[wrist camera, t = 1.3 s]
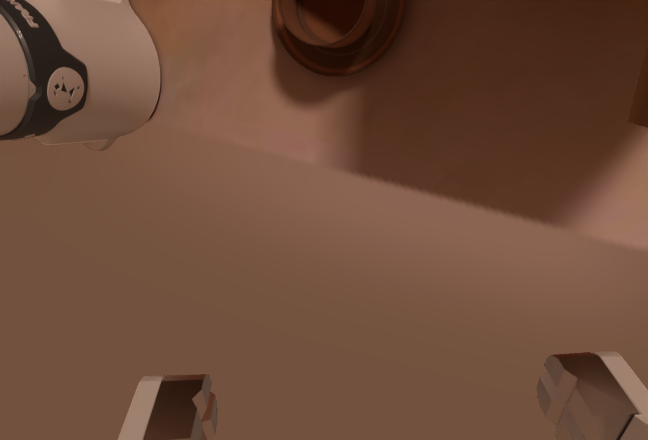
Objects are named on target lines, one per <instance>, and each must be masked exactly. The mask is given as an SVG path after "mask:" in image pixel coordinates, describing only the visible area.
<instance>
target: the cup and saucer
mask: <svg viewBox="0 0 648 440" xmlns="http://www.w3.org/2000/svg"><path fill="white" fill-rule="evenodd" d="M405 7H406V0H272V14H273V20H274V24H275V28H276V31H277V34H278V36H279V38H280V40H281V42H282V44H283V46H284V47H285V49H286V50H287V52H288V53H289V54H290V55H291V56H292V58H294V59H295V60H296V61H297V62H298V63H299V64H300V65H302V66H303V67H305V68H306V69H308V70H310V71H312V72H315V73H318V74H321V75H326V76H345V75H350V74H354V73H357V72H359V71H361V70H363V69H365V68H367V67H369V66H370V65H372V64H373V63H375V62H376V61H377V60H378V59H379V58H380V57H381V56H382V55H383V54H384V53H385V52H386V51H387V50H388V48H389V47H390V46H391V44H392V43H393V41H394V39H395V38H396V36H397V34H398V32H399V29H400V27H401V24H402V21H403V17H404V13H405Z"/></svg>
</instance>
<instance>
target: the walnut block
mask: <svg viewBox="0 0 648 440" xmlns="http://www.w3.org/2000/svg"><path fill="white" fill-rule="evenodd" d="M628 122H631V123H634V124H637V125H641V126H644V127H647V128H648V47H647V51H646V55H645V59H644V62H643V66H642V70H641V74H640V78H639V81H638V85H637V89H636V93H635V97H634V100H633V104H632V108H631V112H630V116H629V119H628Z"/></svg>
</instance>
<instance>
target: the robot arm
mask: <svg viewBox="0 0 648 440" xmlns="http://www.w3.org/2000/svg"><path fill="white" fill-rule="evenodd" d="M159 92H160V66H159V60H158V56H157V52H156V49H155V46H154V44H153V41H152V39H151V37H150V35H149V33H148V31H147V30H146V28H145V26H144V25H143V23H142V22H141V21H140V20H139V18H138V17H137V16H136V14H135V13H134V11H133V10H132V8H131V6H130V4H129V1H128V0H0V140H22V139H27V138H30V137H32V138H33V139H35V140H37V141H39V142H40V143H41V144H42V145H46V146H53V145H64V144H76V143H83V144H84V145H86V146H87V147H89V148H90V149H92V150H95V151H101V150H105V149H107V148H108V147H109V146H110V145H111V144H112V143H113V142H114V141H115V140H116V138H118V137H119V136H122V135H125V134H128V133H131V132H133V131H135V130H137V129H138V128H140V127H141V126H142V125H144V123H145V122H146V121H147V120H148V119H149V118H150V116H151V114H152V113H153V111H154V109H155V106H156V104H157V101H158V97H159ZM544 366H545V367H546V369H547V372H545V373H544V374H543V375H541V376H540V377H539V381H538V384H537V394H538V400H539V403H540V406H541V409H542V411H543V412H544V415H545V417H547V418H548V419H549V420H551V421H552V422H553V423H554V424H556V430H555V437H556V439H557V440H648V390H647V389H646V388H645V386H644V385H643V384H642V382H641V381H640V380H639V379H638V377H637V376H636V375H635V373H634V372H633V371H632V370H631V368H630V367H629V366H628V364H627V363H626V362H625V360H624V359H623V358H622V356H621V355H619V354H618V353H616V352H614V351H609V352H593V353H591V352H583V353H569V354H555V355H550V356H549V357H547V359H546V361H545V364H544ZM211 385H212V382H211V379H210V376H209V374H200V375H199V374H198V375H167V376H165V375H164V376H144V377H143V378H142V380H141V381H140V382H139V384H138V386H137V389H136V392H135V395H134V397H133V400H132V403H131V405H130V409H129V411H128V414H127V416H126V419H125V421H124V424H123V427H122V430H121V432H120V435H119V438H118V440H211V439H212V438H213V437H214V436H215V432H216V426H217V412H218V410H217V400H216V396H215V394H213V393H212V392H210V390H211Z"/></svg>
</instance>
